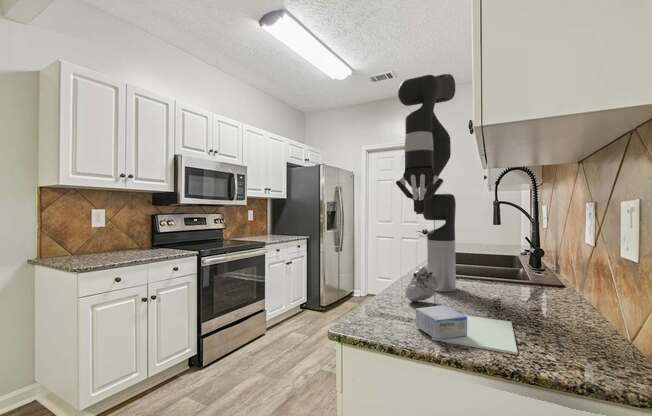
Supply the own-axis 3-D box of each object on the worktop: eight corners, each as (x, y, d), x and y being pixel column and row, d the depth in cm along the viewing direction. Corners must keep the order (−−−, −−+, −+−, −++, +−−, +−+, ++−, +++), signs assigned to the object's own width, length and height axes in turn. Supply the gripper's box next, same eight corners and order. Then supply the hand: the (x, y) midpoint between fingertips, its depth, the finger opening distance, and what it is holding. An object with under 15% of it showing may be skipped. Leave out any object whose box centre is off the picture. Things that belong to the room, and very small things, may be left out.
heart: (445, 301, 94) (438, 261, 95) (440, 309, 86) (431, 266, 87) (412, 302, 99) (405, 264, 100) (404, 310, 91) (396, 269, 92)
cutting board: (442, 314, 84) (442, 312, 84) (511, 323, 77) (511, 321, 77) (431, 339, 68) (431, 337, 68) (517, 354, 61) (517, 352, 61)
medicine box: (415, 325, 75) (436, 341, 66) (414, 307, 75) (436, 320, 66) (443, 322, 77) (468, 336, 68) (443, 304, 77) (468, 316, 68)
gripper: (446, 150, 86) (446, 213, 86) (398, 154, 92) (399, 213, 92) (442, 146, 79) (443, 214, 79) (391, 150, 85) (392, 214, 85)
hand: (419, 213), depth 86 cm, fingers closed
